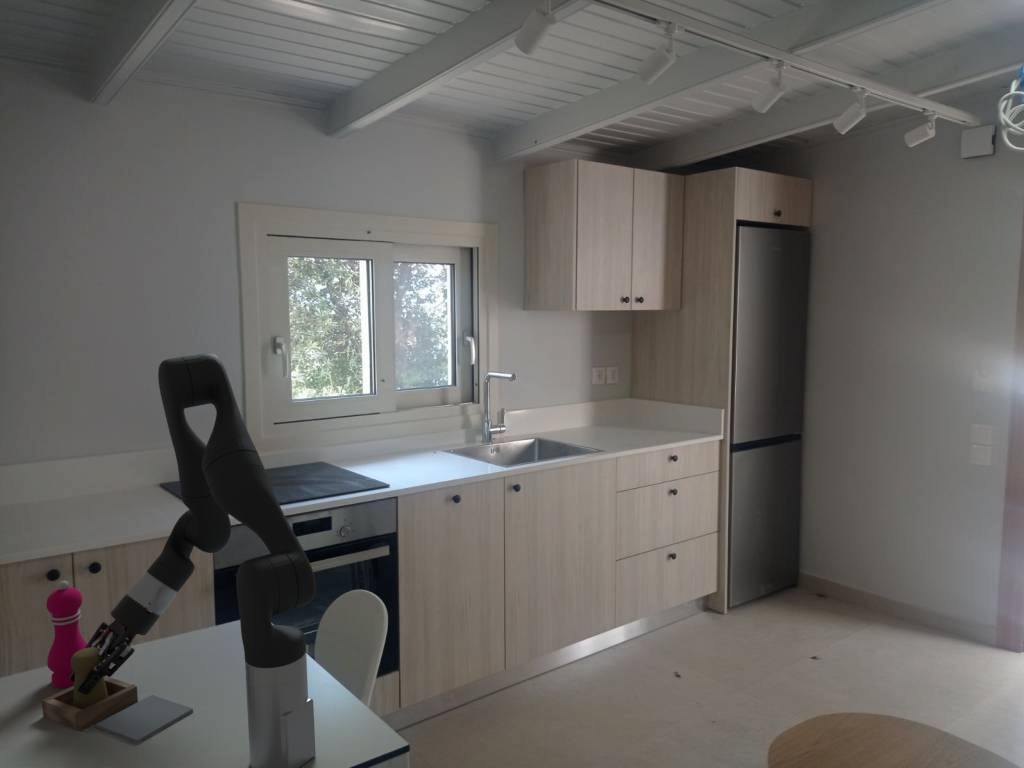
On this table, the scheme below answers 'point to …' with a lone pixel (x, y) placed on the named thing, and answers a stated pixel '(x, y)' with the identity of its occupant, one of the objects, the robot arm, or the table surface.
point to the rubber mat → (144, 718)
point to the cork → (82, 666)
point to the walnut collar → (78, 719)
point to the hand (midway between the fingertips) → (77, 686)
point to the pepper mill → (64, 632)
